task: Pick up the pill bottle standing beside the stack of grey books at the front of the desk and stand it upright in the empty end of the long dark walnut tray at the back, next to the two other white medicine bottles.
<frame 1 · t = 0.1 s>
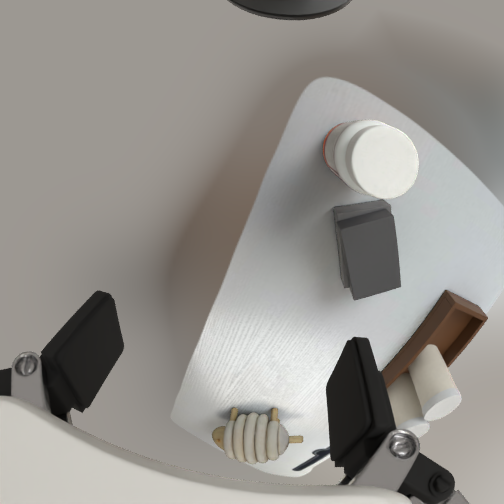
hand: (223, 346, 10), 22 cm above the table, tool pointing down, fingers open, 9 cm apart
toy sheep: (258, 414, 47), on the table
pill bottle: (349, 150, 26), on the table
white bottle B: (397, 384, 39), point 1 cm above the table, touching tray
tray: (413, 362, 37), on the table
grey books: (362, 240, 30), on the table
white bottle A: (422, 357, 36), point 1 cm above the table, touching tray
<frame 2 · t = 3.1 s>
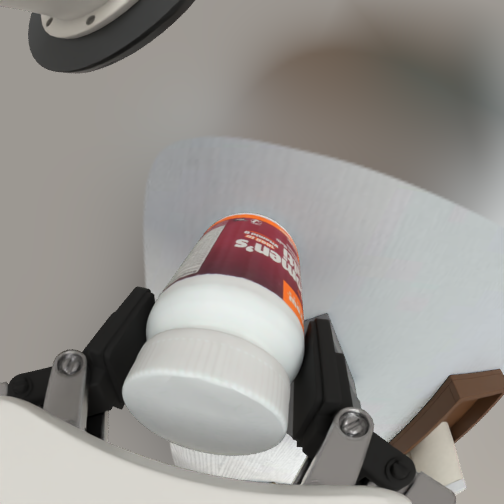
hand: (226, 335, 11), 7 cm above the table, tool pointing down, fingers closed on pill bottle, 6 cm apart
pill bottle: (248, 256, 17), on the table, touching gripper
tray: (419, 436, 26), on the table
grey books: (307, 364, 20), on the table
white bottle A: (428, 433, 24), point 1 cm above the table, touching tray
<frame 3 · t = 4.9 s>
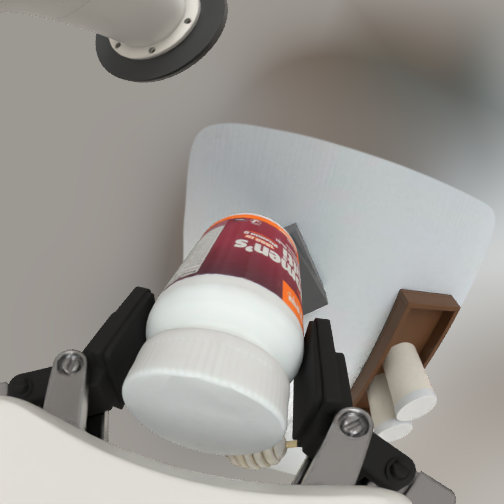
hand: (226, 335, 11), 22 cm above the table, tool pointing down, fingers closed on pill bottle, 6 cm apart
toy sheep: (260, 423, 50), on the table
pill bottle: (248, 256, 17), point 15 cm above the table, touching gripper
white bottle B: (381, 382, 40), point 1 cm above the table, touching tray
tray: (392, 360, 39), on the table
grey books: (287, 264, 33), on the table
white bottle A: (398, 355, 37), point 1 cm above the table, touching tray
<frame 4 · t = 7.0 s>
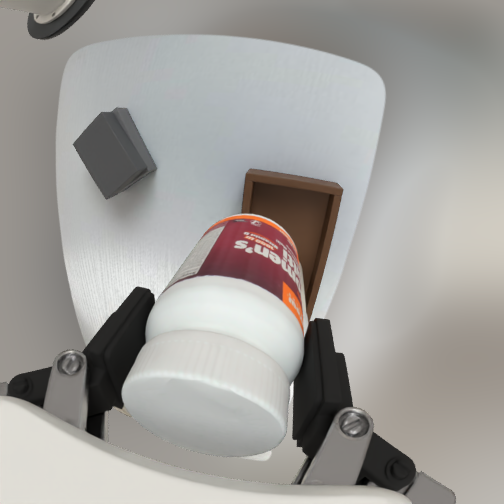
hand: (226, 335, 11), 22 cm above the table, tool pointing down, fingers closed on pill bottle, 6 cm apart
pill bottle: (248, 257, 17), point 15 cm above the table, touching gripper
tray: (275, 283, 35), on the table
grey books: (123, 149, 30), on the table
white bottle A: (277, 272, 33), point 1 cm above the table, touching tray
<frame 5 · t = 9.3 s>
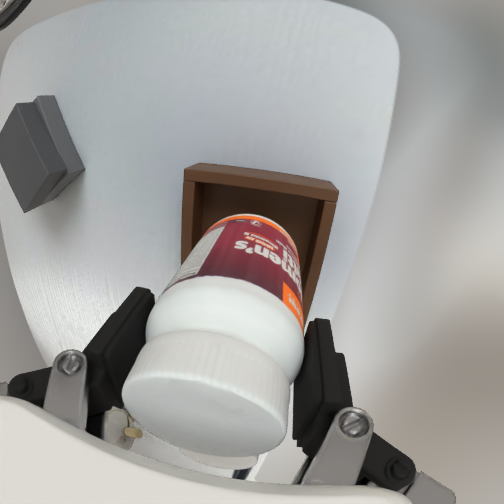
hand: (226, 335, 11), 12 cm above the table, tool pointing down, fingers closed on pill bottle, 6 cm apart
toy sheep: (116, 400, 36), on the table
pill bottle: (248, 257, 17), point 5 cm above the table, touching gripper
white bottle B: (237, 362, 27), point 1 cm above the table, touching tray
tray: (243, 321, 25), on the table
grey books: (51, 147, 20), on the table
when the fingers open (8 cm above the table, at t = 10.9 s): pill bottle stays where it is, resting on tray.
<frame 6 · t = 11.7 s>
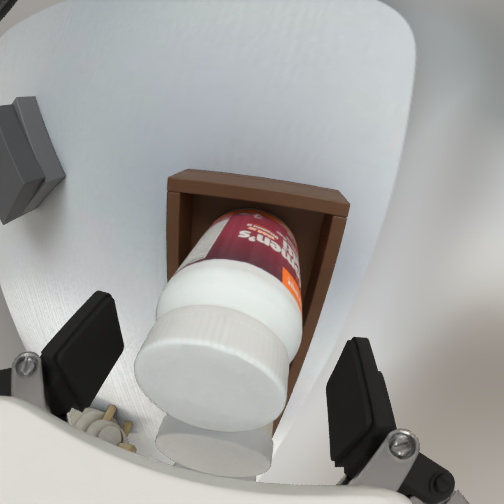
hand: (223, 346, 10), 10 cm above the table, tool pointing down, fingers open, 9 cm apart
toy sheep: (110, 413, 34), on the table
pill bottle: (250, 250, 18), point 1 cm above the table, touching tray
tray: (240, 343, 23), on the table
grey books: (32, 153, 17), on the table
white bottle A: (241, 332, 21), point 1 cm above the table, touching tray
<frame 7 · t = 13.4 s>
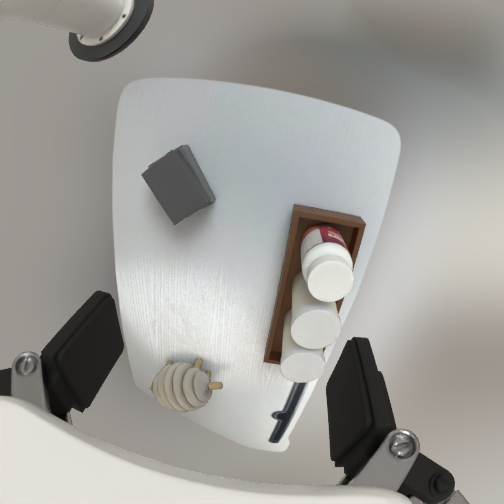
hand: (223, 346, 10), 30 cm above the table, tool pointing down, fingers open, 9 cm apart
toy sheep: (192, 367, 54), on the table
pill bottle: (320, 242, 39), point 1 cm above the table, touching tray
white bottle B: (301, 320, 45), point 1 cm above the table, touching tray
tray: (308, 293, 43), on the table
grey books: (184, 180, 38), on the table
white bottle A: (311, 285, 42), point 1 cm above the table, touching tray
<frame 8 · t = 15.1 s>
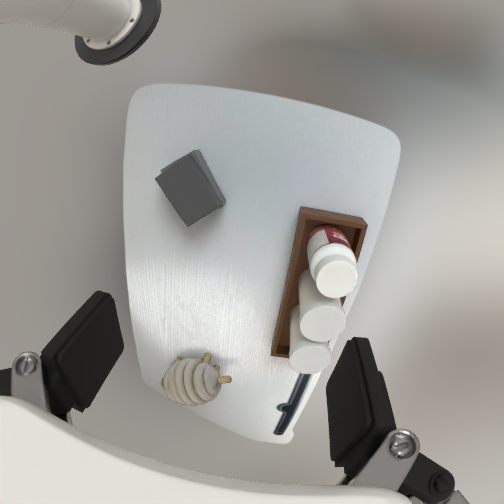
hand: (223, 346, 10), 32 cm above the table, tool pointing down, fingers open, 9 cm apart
toy sheep: (200, 362, 57), on the table
pill bottle: (325, 242, 41), point 1 cm above the table, touching tray
white bottle B: (306, 315, 47), point 1 cm above the table, touching tray
tray: (313, 289, 46), on the table
grey books: (195, 184, 40), on the table
white bottle A: (316, 282, 44), point 1 cm above the table, touching tray
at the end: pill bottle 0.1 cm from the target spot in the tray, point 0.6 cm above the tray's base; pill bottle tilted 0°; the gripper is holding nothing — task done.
